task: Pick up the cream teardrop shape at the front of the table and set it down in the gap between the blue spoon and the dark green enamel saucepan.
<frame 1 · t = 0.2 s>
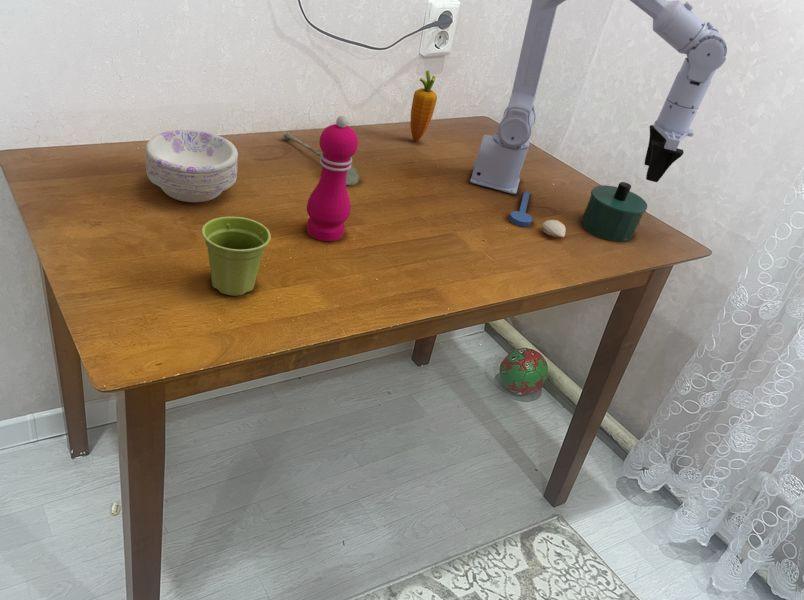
hand: (650, 172, 136), 10 cm above the table, tool pointing down, fingers open, 7 cm apart
blue spoon: (522, 208, 138), on the table
plant pot: (232, 285, 104), on the table
saucepan lid: (618, 200, 134), point 6 cm above the table, touching saucepan
carrot: (415, 142, 157), on the table
soupspoon: (318, 162, 141), on the table
cream teardrop shape: (552, 236, 131), on the table
saucepan: (606, 228, 137), on the table
paper bowls: (191, 191, 124), on the table
pepper mill: (324, 233, 120), on the table
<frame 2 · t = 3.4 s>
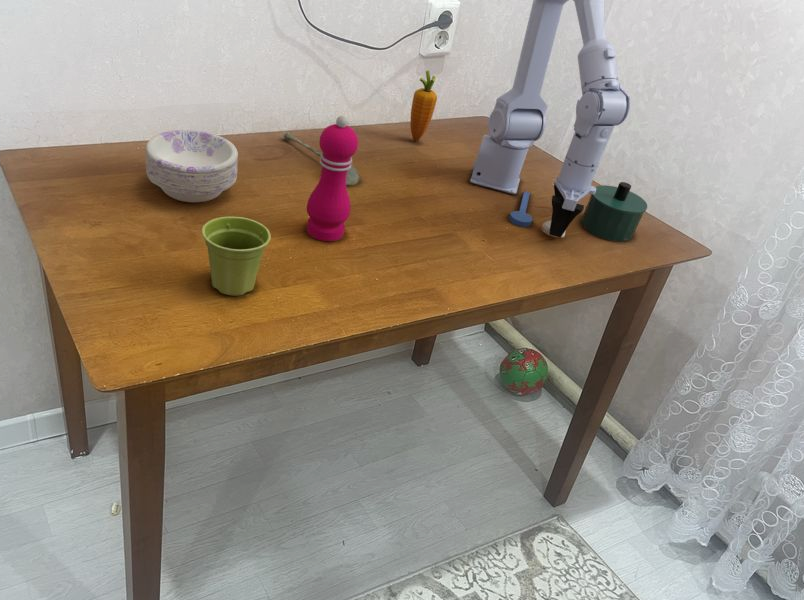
hand: (555, 229, 130), 1 cm above the table, tool pointing down, fingers closed on cream teardrop shape, 4 cm apart
cream teardrop shape: (552, 237, 131), on the table, touching gripper
everything else where it was.
when the fingers open (1 cm above the table, at t = 7.2 s): cream teardrop shape stays where it is, on the table.
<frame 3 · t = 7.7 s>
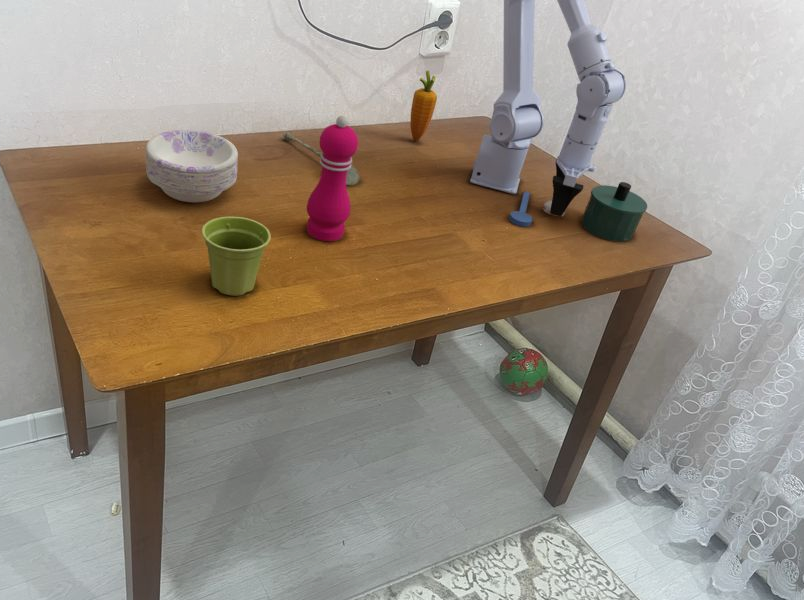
hand: (556, 206, 137), 2 cm above the table, tool pointing down, fingers open, 7 cm apart
cream teardrop shape: (553, 216, 138), on the table
everything else where it was.
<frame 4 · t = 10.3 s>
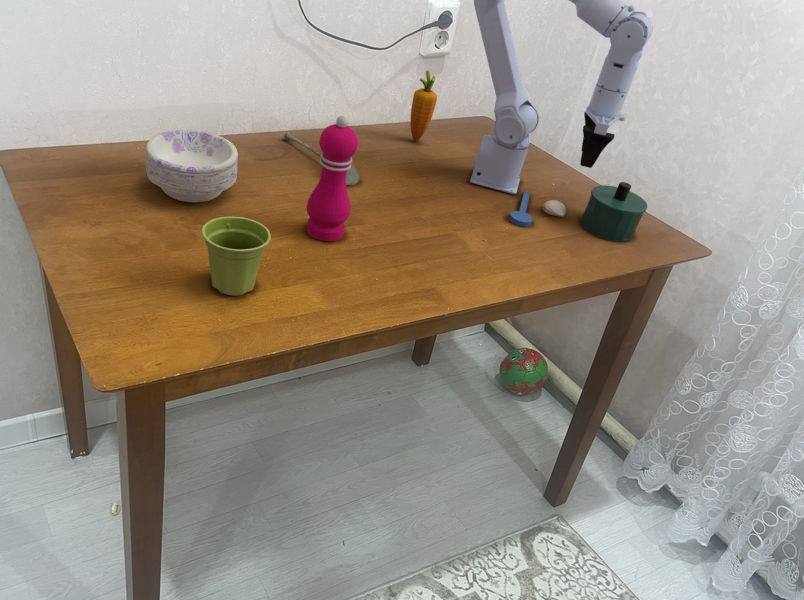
hand: (586, 159, 135), 10 cm above the table, tool pointing down, fingers open, 7 cm apart
nothing on the table moved.
at the end: cream teardrop shape 0.2 cm from the target spot, on the table; the gripper is holding nothing; cream teardrop shape touching table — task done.
